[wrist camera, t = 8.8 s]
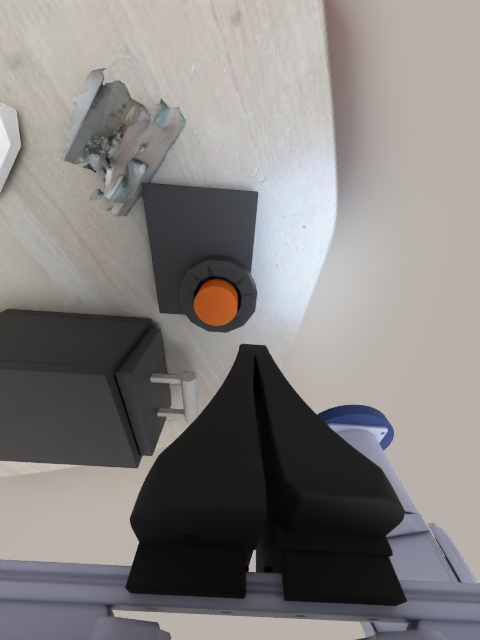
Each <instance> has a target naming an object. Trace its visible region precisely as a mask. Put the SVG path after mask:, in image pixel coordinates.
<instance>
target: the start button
mask: <svg viewBox="0 0 480 640" xmlns="http://www.w3.org/2000/svg"><path fill="white" fill-rule="evenodd" d="M237 305H238V295H237V292H236V290H235V288H234V287H233V286H232V285H231V284H230V283H229V282H227V281H225V280H222V279H212V280H209V281H207V282H205V283H204V284H203V285H202V286H201V288H200V289H199V291H198V293H197V295H196V297H195V300H194V310H195V312H196V314H197V316H198V317H199V318H200V319H201V320H202V321H203V322H205V323H207V324H209V325H213V326H221V325H224V324H227V323H229V322H230V321H231V320H232V319H233V318H234V317H235V315H236V312H237Z"/></svg>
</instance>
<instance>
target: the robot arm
mask: <svg viewBox="0 0 480 640" xmlns="http://www.w3.org/2000/svg"><path fill="white" fill-rule="evenodd" d="M387 431H388V429H387V427H385V426H373V425H356V424H340V423H329V424H326V423H325V422H324V421H323V420H322V419H321V418H320V417H319V416H318V415H316V414H315V413H314V412H313V411H312V410H311V408H310V407H309V406H308V405H307V404H306V403H305V402H304V401H303V400H302V399H301V397H300V396H299V395H298V394H297V393H296V391H295V390H294V389H293V388H292V386H291V385H290V384H289V382H288V381H287V380H286V378H285V377H284V375H283V374H282V372H281V371H280V369H279V368H278V366H277V365H276V363H275V362H274V360H273V358H272V356H271V355H270V353H269V351H268V349H267V347H266V346H265V345H251V344H241V345H240V346H239V352H238V355H237V357H236V360H235V362H234V364H233V366H232V368H231V370H230V372H229V374H228V376H227V377H226V379H225V381H224V383H223V384H222V386H221V387H220V389H219V390H218V392H217V393H216V395H215V396H214V397H213V399H212V400H211V401H210V403H209V404H208V405H207V406H206V408H205V409H204V410H203V411H202V413H201V414H200V415H199V416H198V417H197V418H196V419H195V420H194V421H193V422H192V424H191V425H190V426H189V427H188V428H187V429H186V430H185V431H184V432H183V433H182V434H181V435H180V436H179V437H178V438H177V439H176V440H175V441H174V442H173V443H172V444H171V445H169V446H168V447H167V448H166V449H165V450H164V451H163V452H162V453H161V454H160V455H159V456H158V458H157V459H156V461H155V463H154V465H153V466H152V468H151V470H150V471H149V474H148V475H147V477H146V479H145V481H144V483H143V485H142V487H141V490H140V492H139V495H138V498H137V500H136V503H135V506H134V509H133V511H132V514H131V517H130V523H131V527H132V529H133V531H134V533H135V535H136V537H137V538H138V540H139V545H138V548H137V551H136V555H135V558H134V561H133V564H132V566H118V565H98V564H78V563H57V562H38V561H17V560H0V640H171V636H170V633H168V632H165V631H163V630H160V627H159V624H158V623H157V622H149V621H142V620H135V619H127V618H120V617H114V614H113V611H112V610H125V611H146V612H167V613H189V614H210V615H232V616H254V617H275V618H296V619H317V620H339V621H360V623H361V625H362V627H363V630H364V633H365V636H366V638H363V639H357V640H480V583H478V582H477V580H476V578H475V577H474V575H473V574H472V572H471V571H470V569H469V567H468V565H467V564H466V562H465V561H464V559H463V557H462V556H461V554H460V553H459V551H458V550H457V548H456V546H455V545H454V543H453V542H452V540H451V539H450V537H449V536H448V534H447V533H446V532H445V531H444V530H443V529H441V528H440V527H437V525H436V524H434V523H429V524H428V525H429V527H430V529H431V530H432V532H433V534H434V536H435V537H436V541H437V543H438V544H439V546H440V548H441V549H442V551H443V553H444V555H445V557H444V555H443V553H442V552H441V550H440V548H439V546H438V545H437V543H436V541H435V539H434V538H433V536H432V534H431V532H430V531H429V529H428V527H427V525H426V523H425V522H424V520H423V518H422V516H421V515H420V513H418V511H417V509H416V508H415V506H414V504H413V502H412V500H411V499H410V497H409V495H408V493H407V492H406V490H405V488H404V486H403V485H402V483H401V481H400V479H399V477H398V476H397V474H396V472H395V470H394V469H393V467H392V465H391V463H390V462H389V460H388V458H387V456H386V455H385V453H384V451H383V449H382V447H381V446H380V444H379V443H380V441H381V440H382V439H383V437H384V436H385V434H386V433H387ZM253 550H256V572H249V567H248V566H249V563H250V560H251V557H252V553H253Z"/></svg>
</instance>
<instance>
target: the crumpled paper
mask: <svg viewBox="0 0 480 640" xmlns="http://www.w3.org/2000/svg"><path fill="white" fill-rule="evenodd" d="M105 69H106V68H103V69H98V70H93V71H92V72H90V73H89V74H88V75H87V88H86V92H84V93H82V94H80V95H77V96H75V97H72V98H70V99H71V100H72V101H73V102H74V103H75V104H76V107H75V110H74V112H73V115H72V120H71V124H70V129H69V132H68V133H67V134H66V135H65V136H66V138H67V139H68V145H67V147H66V149H65V150H64V152H63V155H62V156H61V158H62V159H63V160H64V161H68V162H72V163H74V164H78V163H82V162H84V164H83V165H82V166H83V167H84V168H89V169H91V170H92V171H94V172H95V173H96V171H99V170H101V169H103V170H104V171H105V174H106V178H105V179H103V180H104V184H105V190H104V193H103V192H101V190H100V189H97V190H96V191H94V192H93V193H92V195H91V197H90V200H91V199H93V200H98V199H100V198H101V197H106V198H108V201H109V203H111V204H113V205H114V206H113V207H112V209H110V208H108V209H107V210H108V211H110V212H111V213H112V214H114V215H115V216H126V215H127V213H128V212H129V210H130V209H131V207H132V206H133V205H134V204H135V202H136V201H137V200H138V198H139V197H140V195H141V194H142V185H141V183H149V182H150V180H151V179H152V177H153V176H154V174H155V173H156V172H157V170H158V169H159V167H160V165H161V164H162V162H163V161H164V158H165V155H166V153H167V151H168V150H169V148H170V146H171V145H172V144H174V142H175V140H176V138H177V137H178V135H179V133H180V132H181V131H182V129H183V127H184V126H185V123H186V120H185V118H184V117H183V115H182V113H181V111H180V109H178V108H179V107H178V108H177V107H174V108H172V109H171V108H170V107H168V106H167V105H166V104H165V102H164V101H163V100H162V99H161V102H160V103H159V104H158V105H157V104H155V103H153V104H154V105H155V107H156V109H155V110H154V111H152V113H151V115H149V113H148V111H147V109H146V108H145V107H144V106H143V105H142V104H140V103H138V102H136V101H135V100H133V99H131V98H130V95H129V92H128V89H127V87H126V86H125V84H124V83H122V82H121V81H119V80H118V81H114V82H113V83H106V84H105V86H104V85H102V83H103V80H104V75H103V71H104V70H105ZM63 173H65V172H63ZM108 201H106V202H107V203H108ZM89 202H90V201H89ZM107 210H106V211H107Z"/></svg>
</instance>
